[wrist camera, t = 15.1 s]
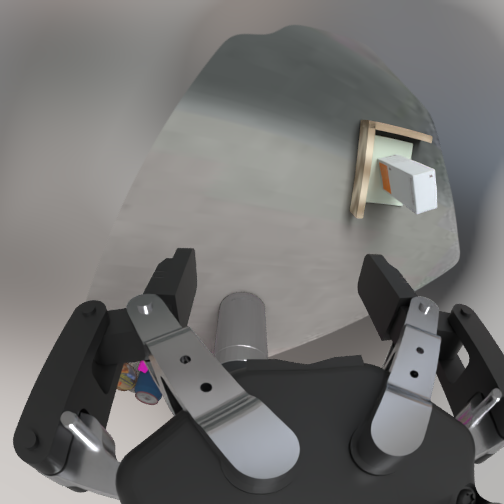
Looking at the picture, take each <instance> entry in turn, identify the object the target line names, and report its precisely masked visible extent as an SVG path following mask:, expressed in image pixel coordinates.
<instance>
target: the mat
mask: <svg viewBox="0 0 504 504" xmlns="http://www.w3.org/2000/svg"><path fill="white" fill-rule="evenodd" d="M412 148H413V143H409V142H405V141H401V140H396V139H392V138H387V137H382V136H377V135H375V139H374V148H373V156H372V164H371V172H370V178H369V185H368V191H367V197H366V202H370V203H380V204H389V205H397V206H403V204H402V203H401V202H399V201H398V200H397V199H395V198H394V197H392V196H391V195H390V194H388V193H387V192H385V191H384V190H383V187H382V180H381V174H380V169H379V163H378V158H382V157H386V156H391V155H395V154H398V155H401V156H403V157H406V158H408V159H411V155H412Z"/></svg>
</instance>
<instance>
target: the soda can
mask: <svg viewBox="0 0 504 504" xmlns="http://www.w3.org/2000/svg"><path fill="white" fill-rule="evenodd" d="M135 393H136V394H135V397H136V398H137V399H138V400H139V401H141V402H143V403H145V404H149V405H155V404H157V403H158V401H159V400H160V399H161V397H162V393H161V392H160V390H159V388H158V386H157V385H156V383H155V381H154V379H153V378H152V376H151V374H150V372H149V370H147V372H146V373H143V372H142V371H140V373H139V376H138V379H137V382H136V385H135Z"/></svg>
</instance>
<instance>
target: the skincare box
mask: <svg viewBox="0 0 504 504" xmlns="http://www.w3.org/2000/svg"><path fill="white" fill-rule="evenodd" d="M378 163H379V169H380V174H381V180H382V187H383V190H384V191H385V192H387V193H388V194H390V195H391V196H392V197H394V198H395V199H397V200H398V201H399V202H401V203H402V204H403V205H405V206H406V207H408V208H409V209H410V210H412V211H413V212H414V213H415V214H419V213H422V212H426V211H429V210H432V209H436V208H437V186H436V179H435V170H434V169H432V168H430V167H428V166H425V165H423V164H421V163H418V162H416V161H413V160H411V159H408V158H406V157H403V156H401V155H398V154H395V155H391V156H386V157H382V158H378Z"/></svg>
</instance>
